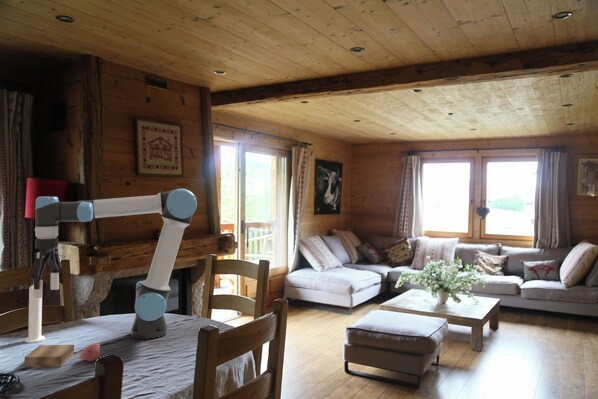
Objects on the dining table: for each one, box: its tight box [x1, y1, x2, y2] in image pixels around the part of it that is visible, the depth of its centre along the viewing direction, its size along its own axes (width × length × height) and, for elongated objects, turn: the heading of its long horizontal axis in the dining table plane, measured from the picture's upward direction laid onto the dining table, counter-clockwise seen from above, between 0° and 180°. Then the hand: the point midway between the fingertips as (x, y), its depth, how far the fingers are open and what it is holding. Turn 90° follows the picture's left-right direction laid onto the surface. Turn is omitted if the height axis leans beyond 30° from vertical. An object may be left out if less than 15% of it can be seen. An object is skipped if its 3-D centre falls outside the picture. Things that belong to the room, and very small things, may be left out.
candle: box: [24, 283, 46, 344], centre depth 182 cm, size 7×7×25 cm
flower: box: [78, 342, 101, 362], centre depth 162 cm, size 8×8×6 cm
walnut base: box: [24, 344, 75, 368], centre depth 161 cm, size 12×12×4 cm
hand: (46, 293), depth 168 cm, fingers open, 13 cm apart
